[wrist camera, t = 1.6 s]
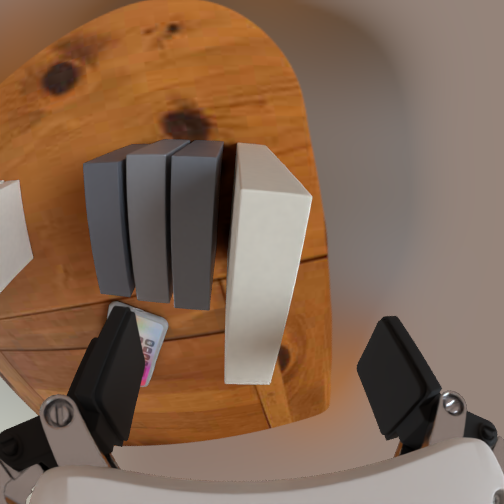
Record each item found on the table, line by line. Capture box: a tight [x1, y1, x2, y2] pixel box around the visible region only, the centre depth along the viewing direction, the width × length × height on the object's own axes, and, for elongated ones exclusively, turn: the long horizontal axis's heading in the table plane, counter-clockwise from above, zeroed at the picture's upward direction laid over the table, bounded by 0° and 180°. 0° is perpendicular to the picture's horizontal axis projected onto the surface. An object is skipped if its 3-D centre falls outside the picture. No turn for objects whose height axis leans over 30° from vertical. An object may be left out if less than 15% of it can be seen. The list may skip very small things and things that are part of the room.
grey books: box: [83, 139, 224, 310], centre depth 20 cm, size 10×8×9 cm
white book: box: [225, 143, 312, 384], centre depth 18 cm, size 10×2×15 cm, turn 174°
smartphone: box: [107, 301, 168, 387], centre depth 32 cm, size 7×1×15 cm
